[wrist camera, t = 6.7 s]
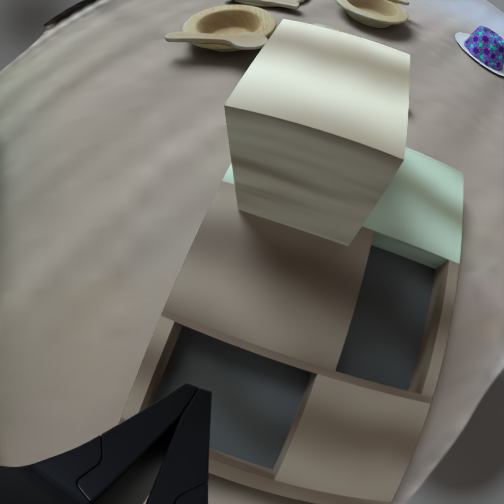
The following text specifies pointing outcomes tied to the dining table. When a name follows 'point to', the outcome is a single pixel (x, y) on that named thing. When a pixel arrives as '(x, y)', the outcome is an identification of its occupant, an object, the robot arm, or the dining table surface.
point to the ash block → (318, 129)
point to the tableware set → (271, 22)
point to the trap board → (315, 339)
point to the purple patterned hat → (484, 48)
